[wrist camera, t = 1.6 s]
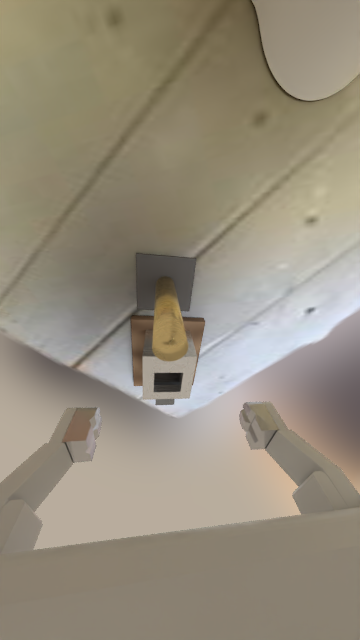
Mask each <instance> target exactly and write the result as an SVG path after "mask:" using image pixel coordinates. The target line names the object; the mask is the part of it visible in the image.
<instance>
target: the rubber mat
mask: <svg viewBox="0 0 360 640" xmlns="http://www.w3.org/2000/svg"><path fill="white" fill-rule="evenodd" d="M195 265H196V258H186V257H174V256H162V255H151V254H139V253H136V269H137V309H145V310H154V309H155V292H156V282H157V280H158V279H159V278H161V277H163V276H167V277H170V278H171V279H172V280H173V281H174V285H175V289H176V293H177V298H178V302H179V306H180V311H189V308H190V301H191V294H192V287H193V279H194V272H195Z"/></svg>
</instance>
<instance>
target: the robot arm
mask: <svg viewBox="0 0 360 640" xmlns="http://www.w3.org/2000/svg"><path fill="white" fill-rule="evenodd" d="M252 2H253V4H254V6H255V8H256V12H257V16H258V21H259V27H260V33H261V39H262V44H263V49H264V53H265V56H266V59H267V62H268V65H269V67H270V70H271V72H272V74H273V76H274V77H275V79H276V81H277V82H278V83H279V85H280V86H281V87H282V88H283V89H284V90H285V91H286V92H287V93H289V94H290V95H292V96H294V97H296V98H298V99H301V100H307V101H313V100H320V99H324V98H326V97H329V96H331V95H333V94H335V93H337V92H338V91H340V90H341V89H343V88H344V87H345V86H347V85H348V84H349V83H350V82H351V81H352V80H354V79H355V78H356V77H357V76H358V74H359V73H360V0H252ZM243 408H244V409H243V410H242V411H241V412H240V415H239V417H240V424H241V426H242V429H244V430H245V431H246V438H247V441H248V443H249V446H250V448H251V450H252V449H265V450H266V451H267V452H268V453H269V455H270V456H271V457H272V458H273V459H274V460H275V461H276V462H277V463H278V464H279V466H280V467H281V468H282V469H283V470H284V471H285V472H286V473H287V474H288V475H289V476H290V478H291V479H292V480H293V481H294V482H295V483H296V484H297V485H298V486H299V487H298V488H297V489H296V490H295V491H294V492H293V495H292V496H293V498H294V500H295V502H296V504H297V506H298V508H299V511H300V513H301V515H295V516H288V517H280V518H273V519H265V520H257V521H249V522H243V523H234V524H227V525H219V526H212V527H204V528H197V529H189V530H181V531H174V532H166V533H159V534H151V535H143V536H136V537H128V538H121V539H113V540H106V541H98V542H90V543H83V544H76V545H68V546H61V547H53V548H45V549H37V550H33V548H34V546H35V543H36V541H37V538H38V535H39V533H40V530H41V527H42V521H41V520H40V519H39V517H38V516H37V515H36V514H35V513H34V512H35V511H36V509H37V508H38V507H39V506H40V504H41V503H42V502H43V501H44V499H45V498H46V497H47V496H48V494H49V493H50V492H51V491H52V490H53V488H54V487H55V486H56V484H57V483H58V482H59V481H60V480H61V478H62V477H63V476H64V474H65V473H66V472H67V471H68V469H69V468H70V467H71V466H72V465H73V463H75V462H84V461H92V459H93V455H94V452H95V448H96V442H95V440H96V439H97V437H98V436H99V434H100V430H101V424H102V419H101V416H100V415H99V413H100V409H99V407H91V408H67V409H66V410H65V412H64V413H63V415H62V417H61V419H60V421H59V423H58V425H57V427H56V429H55V431H54V433H53V435H52V437H51V439H50V441H49V443H46V444H44V445H43V446H42V447H40V448H39V449H38V450H37V451H36V452H35V453H34V454H32V455H31V456H30V457H29V458H28V459H27V460H26V461H24V462H23V463H22V464H21V465H20V466H19V467H18V468H17V469H16V470H14V471H13V472H12V473H11V474H10V475H9V476H8V477H6V478H5V479H4V480H3V481H2V482H1V483H0V640H360V494H359V493H358V492H357V490H356V489H355V488H354V486H353V485H352V484H351V482H350V481H349V479H348V478H347V477H346V475H345V474H344V473H343V471H342V470H341V469H340V468H339V467H338V466H337V465H335V464H334V463H333V462H331V461H330V460H329V459H328V458H326V457H325V456H324V455H323V454H321V453H320V452H319V451H318V450H316V449H315V448H314V447H312V446H311V445H310V444H309V443H307V442H306V441H305V440H304V439H302V438H301V437H300V436H298V435H297V434H296V433H295V432H293V431H292V430H289V429H288V428H287V426H286V425H285V423H284V422H283V420H282V419H281V417H280V415H279V414H278V412H277V411H276V409H275V407H274V406H273V404H272V403H271V402H246V403H244V405H243Z"/></svg>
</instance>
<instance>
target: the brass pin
mask: <svg viewBox="0 0 360 640" xmlns="http://www.w3.org/2000/svg"><path fill="white" fill-rule="evenodd" d="M152 350H153V353H154V355H155V356H156V357H157V358H159V359H160V360H163V361H176V360H179V359H181V358H182V357H183V356H184V355H185V354H186V353H187V351H188V341H187V337H186V332H185V328H184V324H183V319H182V315H181V311H180V306H179V302H178V298H177V293H176V289H175V285H174V281H173V280H172V279H171V278H170V277H167V276H163V277H161V278H159V279H158V280H157V282H156V292H155V309H154V325H153V342H152Z"/></svg>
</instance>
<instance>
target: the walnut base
mask: <svg viewBox="0 0 360 640" xmlns="http://www.w3.org/2000/svg"><path fill="white" fill-rule="evenodd" d="M182 319H183V324H184V328H185V331H190V332H191V336H192V339H193V343H194V347H195V350H196V354H197V361H196V366H195V371H194V377H195V372H196V367H197V362H198V357H199V352H200V346H201V341H202V336H203V331H204V326H205V320H204V318H190V317H182ZM153 325H154V316H137V315H132V318H131V332H132V354H133V377H134V386H143V357H142V356H143V349H144V341H145V333H146V330H153ZM194 377H193V382H194ZM193 382H192V385H193Z"/></svg>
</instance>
